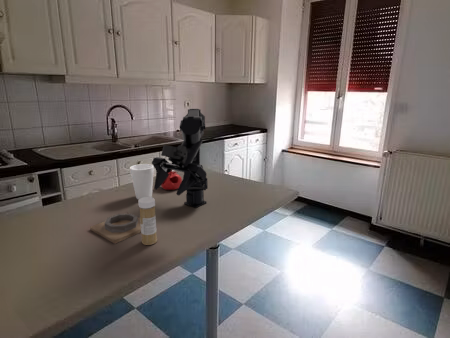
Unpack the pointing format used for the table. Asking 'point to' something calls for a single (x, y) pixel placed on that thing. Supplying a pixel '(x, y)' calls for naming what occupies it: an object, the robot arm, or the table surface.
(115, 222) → the collar plate
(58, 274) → the table surface
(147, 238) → the sprinkles bottle
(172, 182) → the pomegranate
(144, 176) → the foam cup
